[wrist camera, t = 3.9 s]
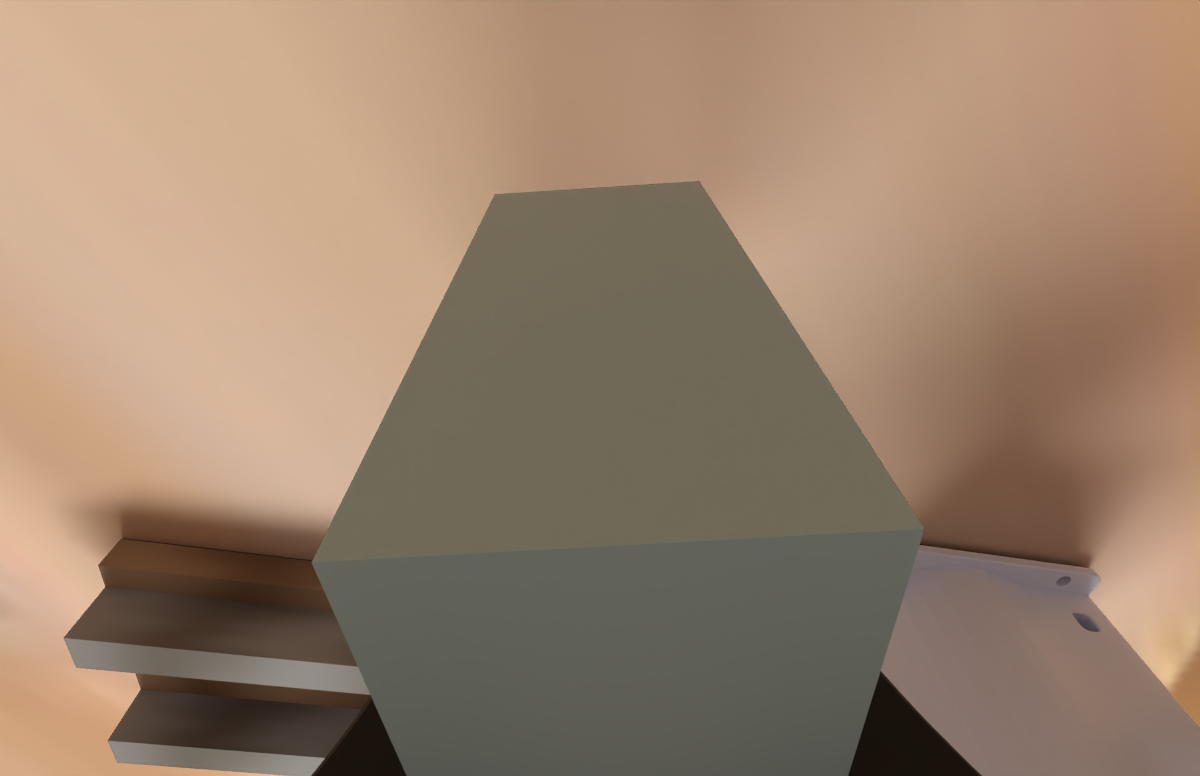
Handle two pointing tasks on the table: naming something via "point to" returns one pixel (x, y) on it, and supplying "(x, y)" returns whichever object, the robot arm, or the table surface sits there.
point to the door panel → (617, 513)
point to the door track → (221, 659)
